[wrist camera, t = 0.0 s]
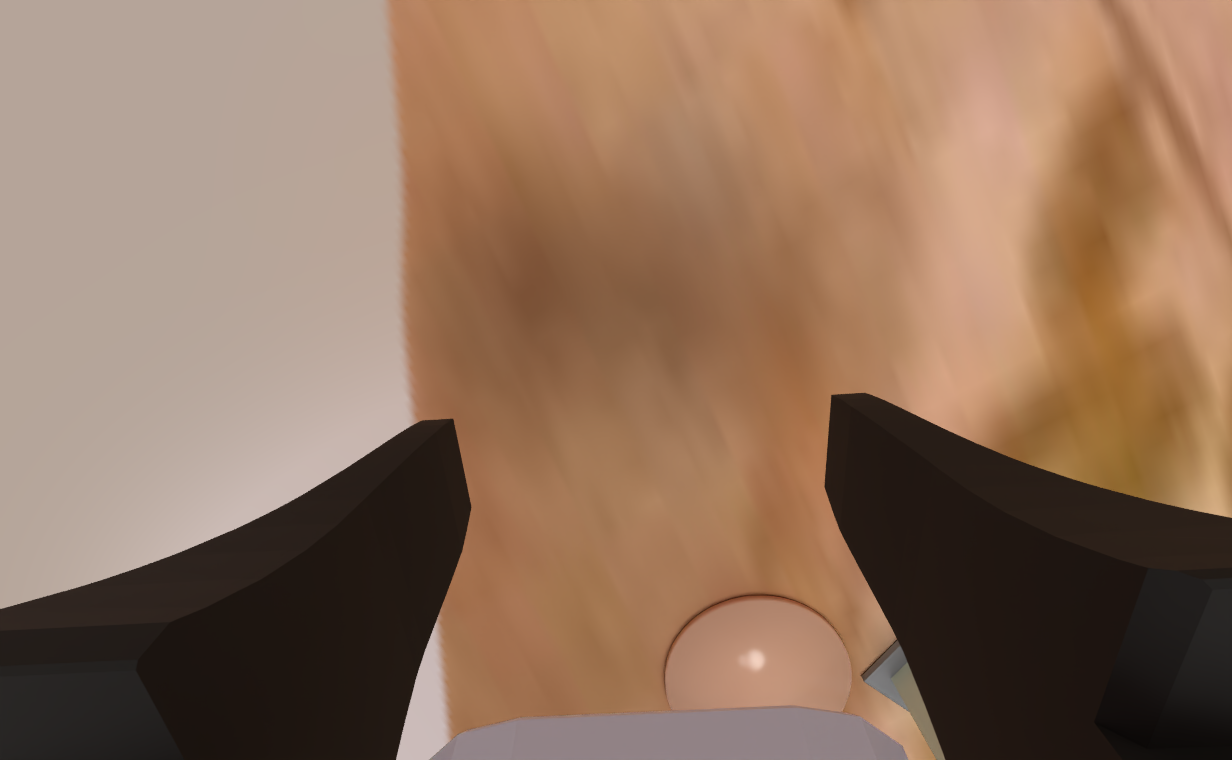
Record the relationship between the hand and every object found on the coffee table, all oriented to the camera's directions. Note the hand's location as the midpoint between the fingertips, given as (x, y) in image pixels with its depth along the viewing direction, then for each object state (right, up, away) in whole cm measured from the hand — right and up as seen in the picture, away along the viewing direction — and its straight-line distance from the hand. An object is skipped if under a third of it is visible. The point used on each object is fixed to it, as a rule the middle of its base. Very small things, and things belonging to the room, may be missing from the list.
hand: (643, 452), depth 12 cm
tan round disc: (+5, -11, +14) cm, 18 cm away
